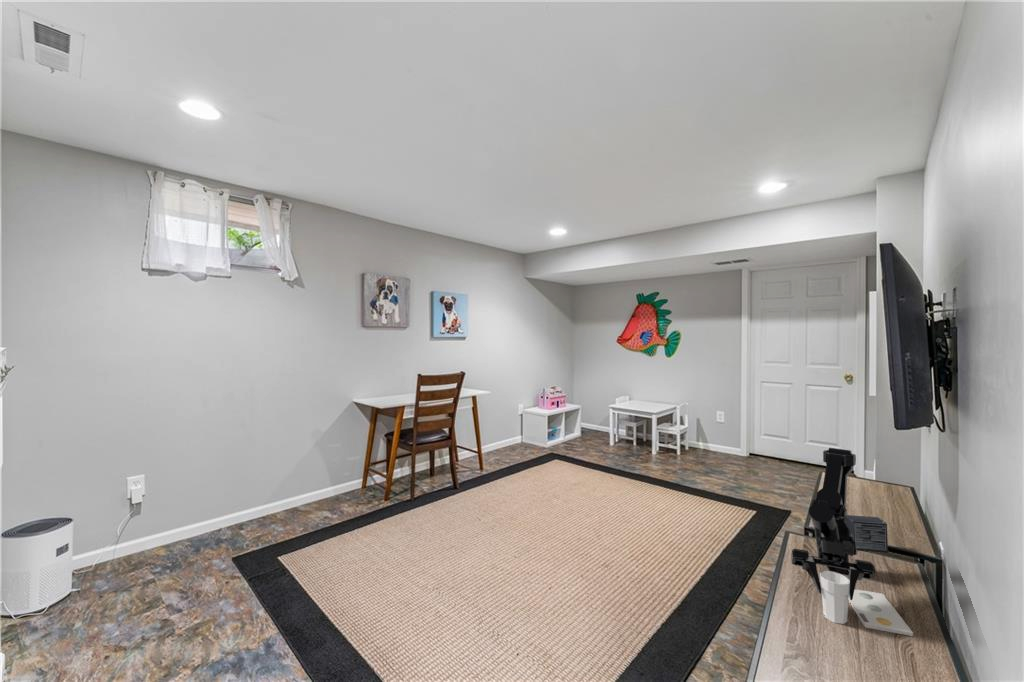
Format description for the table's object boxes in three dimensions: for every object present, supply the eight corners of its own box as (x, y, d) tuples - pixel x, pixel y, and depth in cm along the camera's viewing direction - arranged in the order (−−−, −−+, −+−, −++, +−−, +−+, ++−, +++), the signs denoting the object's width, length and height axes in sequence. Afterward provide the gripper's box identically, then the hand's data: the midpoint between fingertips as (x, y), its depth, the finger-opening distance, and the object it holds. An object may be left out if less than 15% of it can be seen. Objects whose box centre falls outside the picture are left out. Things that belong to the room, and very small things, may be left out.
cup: (821, 607, 122) (820, 568, 122) (850, 616, 118) (850, 576, 118) (819, 619, 117) (818, 578, 117) (850, 629, 112) (849, 587, 112)
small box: (878, 544, 157) (878, 516, 157) (889, 553, 150) (888, 523, 150) (844, 541, 160) (844, 513, 160) (853, 550, 153) (853, 521, 153)
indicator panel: (841, 589, 130) (841, 586, 130) (882, 596, 126) (882, 593, 126) (865, 627, 113) (865, 623, 113) (913, 636, 109) (913, 632, 109)
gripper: (791, 520, 125) (796, 577, 115) (873, 533, 116) (886, 595, 106) (789, 536, 132) (793, 591, 122) (865, 549, 123) (877, 609, 113)
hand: (835, 596), depth 116 cm, fingers closed on cup, 6 cm apart
